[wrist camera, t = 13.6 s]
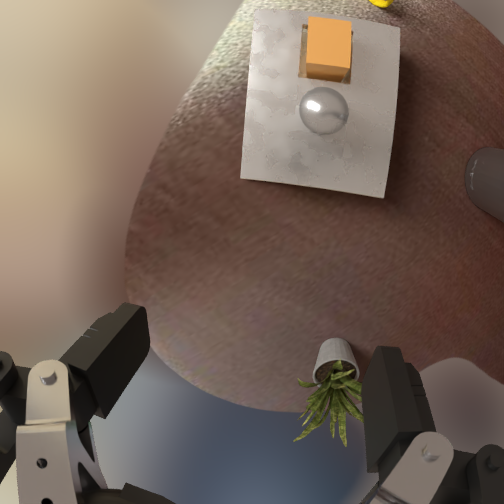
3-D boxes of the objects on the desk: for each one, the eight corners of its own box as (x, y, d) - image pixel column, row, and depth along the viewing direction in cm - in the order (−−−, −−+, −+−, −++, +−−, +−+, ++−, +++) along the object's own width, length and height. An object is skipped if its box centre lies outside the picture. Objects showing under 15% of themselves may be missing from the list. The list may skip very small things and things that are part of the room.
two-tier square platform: (394, 43, 30) (424, 15, 19) (378, 196, 38) (403, 222, 27) (255, 25, 32) (234, -11, 21) (242, 177, 40) (217, 196, 29)
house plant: (333, 394, 52) (332, 467, 37) (274, 360, 51) (258, 437, 36) (390, 348, 46) (408, 424, 31) (330, 306, 45) (334, 385, 30)
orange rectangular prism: (341, 47, 30) (351, 21, 21) (339, 83, 32) (349, 68, 23) (308, 43, 31) (308, 16, 22) (306, 79, 33) (306, 62, 24)
